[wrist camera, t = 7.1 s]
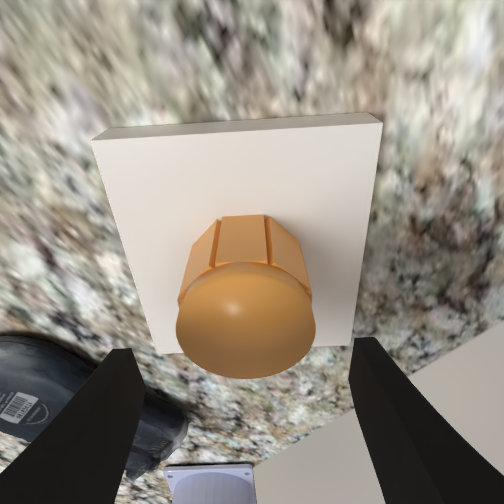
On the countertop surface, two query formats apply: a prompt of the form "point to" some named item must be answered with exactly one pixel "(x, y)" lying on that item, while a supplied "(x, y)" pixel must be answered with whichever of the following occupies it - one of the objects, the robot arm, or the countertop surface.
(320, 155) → the white base plate
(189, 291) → the orange acorn nut
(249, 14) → the countertop surface
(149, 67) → the countertop surface
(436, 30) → the countertop surface
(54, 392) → the electronic device
